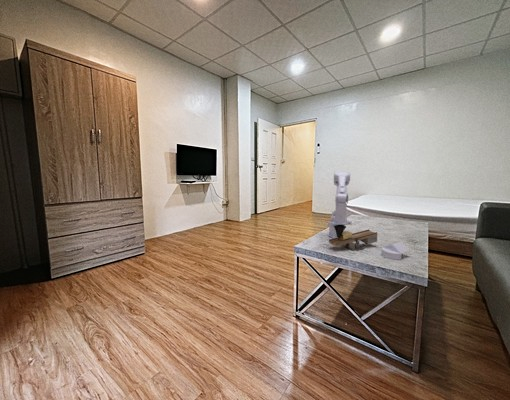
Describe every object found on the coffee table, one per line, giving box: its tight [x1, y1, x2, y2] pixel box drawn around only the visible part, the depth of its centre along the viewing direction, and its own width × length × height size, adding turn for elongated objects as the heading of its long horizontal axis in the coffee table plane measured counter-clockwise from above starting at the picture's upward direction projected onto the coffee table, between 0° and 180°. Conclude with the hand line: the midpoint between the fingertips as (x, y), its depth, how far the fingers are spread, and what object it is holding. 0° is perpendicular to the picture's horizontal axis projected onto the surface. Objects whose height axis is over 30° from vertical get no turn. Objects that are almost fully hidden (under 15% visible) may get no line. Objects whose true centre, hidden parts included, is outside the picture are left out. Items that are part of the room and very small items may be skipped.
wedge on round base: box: [380, 241, 410, 261], centre depth 113 cm, size 9×7×13 cm
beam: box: [328, 229, 378, 247], centre depth 125 cm, size 6×29×6 cm, turn 106°
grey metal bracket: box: [341, 238, 365, 252], centre depth 125 cm, size 10×8×6 cm
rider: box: [339, 230, 353, 241], centre depth 122 cm, size 4×6×4 cm, turn 106°
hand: (338, 237), depth 121 cm, fingers closed
